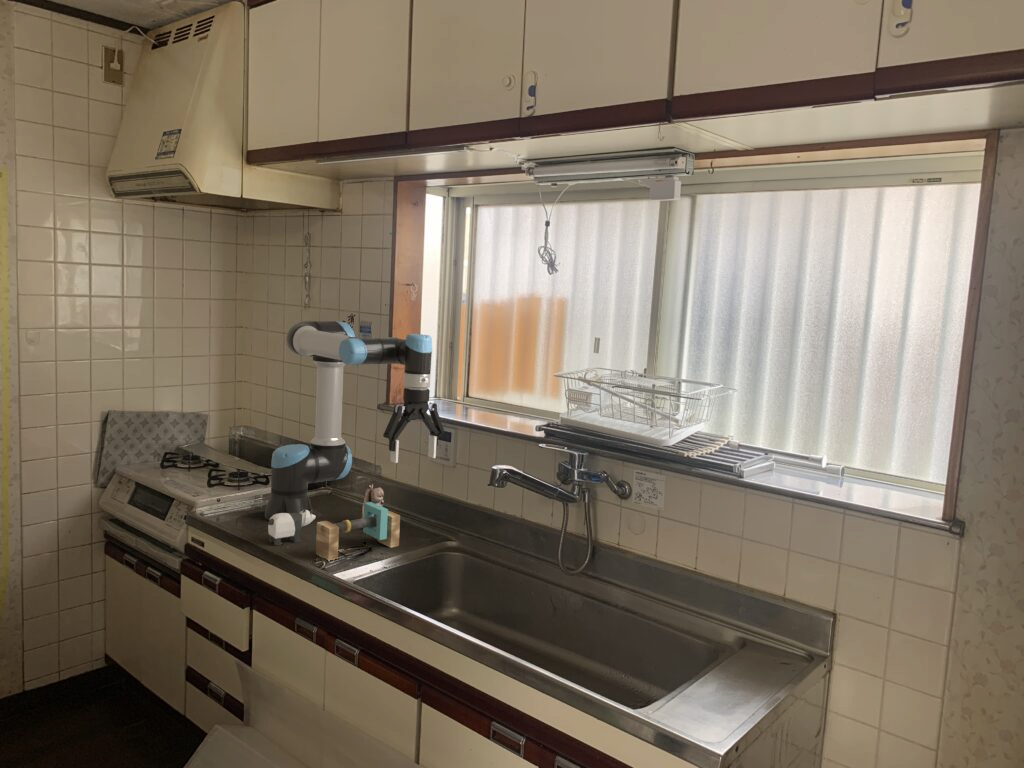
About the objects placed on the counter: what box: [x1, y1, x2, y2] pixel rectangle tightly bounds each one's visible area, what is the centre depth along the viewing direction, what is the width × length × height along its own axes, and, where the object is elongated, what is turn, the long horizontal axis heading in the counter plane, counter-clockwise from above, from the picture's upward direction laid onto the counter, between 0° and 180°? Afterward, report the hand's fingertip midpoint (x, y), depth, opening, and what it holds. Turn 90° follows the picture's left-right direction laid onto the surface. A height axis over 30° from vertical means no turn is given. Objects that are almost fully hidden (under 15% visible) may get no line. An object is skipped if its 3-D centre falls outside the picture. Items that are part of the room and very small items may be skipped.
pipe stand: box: [315, 509, 401, 562], centre depth 228 cm, size 24×7×10 cm, turn 133°
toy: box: [361, 483, 386, 518], centre depth 251 cm, size 9×8×15 cm
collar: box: [362, 501, 389, 541], centre depth 232 cm, size 2×9×9 cm, turn 43°
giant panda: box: [267, 508, 317, 546], centre depth 233 cm, size 15×6×10 cm, turn 130°
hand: (413, 459), depth 227 cm, fingers open, 13 cm apart
